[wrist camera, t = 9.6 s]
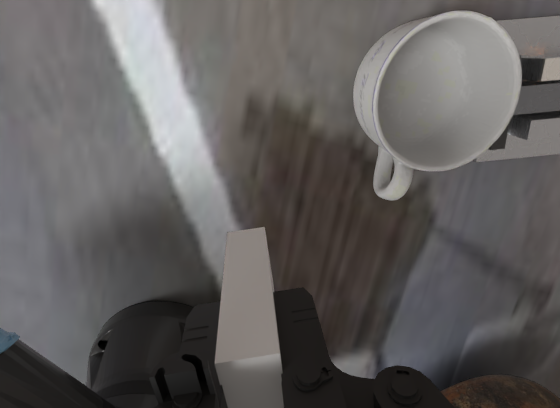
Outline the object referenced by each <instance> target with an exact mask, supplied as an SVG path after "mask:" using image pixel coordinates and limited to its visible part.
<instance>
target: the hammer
mask: <svg viewBox="0 0 560 408" xmlns="http://www.w3.org/2000/svg"><path fill="white" fill-rule="evenodd" d="M519 56H520V60H521V55H519ZM551 111H560V80H550V81H531V82H522V84H521V90H520V96H519V100H518V103H517V106H516V109H515V111H514V114H513V115H518V114H529V113H540V112H551ZM508 127H509V123H508V125H507V127H506V128H505V130H504V131H503V133H502V134H501V136H500V137H499V138H498V139H497V140H496V141H495V142H494V143H493V144H492V145H491V146H490V147H489V148H488V149H489V150H497V149H505V144H506V139H507V133H508Z"/></svg>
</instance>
